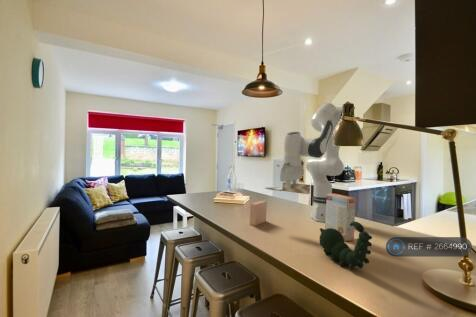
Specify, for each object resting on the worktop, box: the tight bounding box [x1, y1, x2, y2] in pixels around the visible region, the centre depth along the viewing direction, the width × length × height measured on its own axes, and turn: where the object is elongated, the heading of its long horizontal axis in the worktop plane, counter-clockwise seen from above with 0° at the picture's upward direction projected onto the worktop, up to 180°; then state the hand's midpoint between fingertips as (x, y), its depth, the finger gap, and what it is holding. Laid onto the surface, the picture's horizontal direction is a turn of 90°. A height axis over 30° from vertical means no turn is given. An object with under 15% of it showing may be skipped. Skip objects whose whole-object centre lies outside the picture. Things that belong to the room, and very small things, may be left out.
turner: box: [264, 182, 311, 195], centre depth 130 cm, size 24×6×4 cm, turn 52°
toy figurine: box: [319, 221, 373, 270], centre depth 95 cm, size 9×19×25 cm
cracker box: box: [324, 192, 357, 242], centre depth 123 cm, size 14×6×21 cm, turn 22°
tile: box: [249, 200, 268, 227], centre depth 142 cm, size 4×12×12 cm, turn 143°
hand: (291, 188), depth 129 cm, fingers closed on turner, 3 cm apart
